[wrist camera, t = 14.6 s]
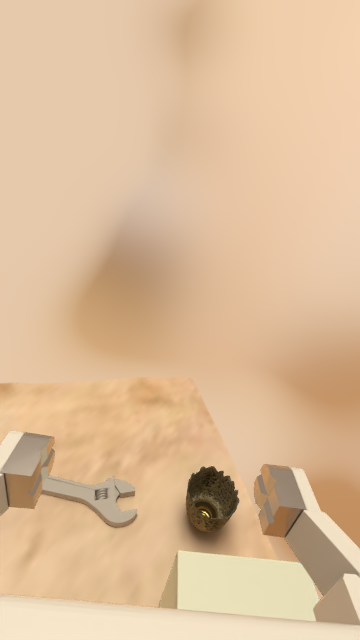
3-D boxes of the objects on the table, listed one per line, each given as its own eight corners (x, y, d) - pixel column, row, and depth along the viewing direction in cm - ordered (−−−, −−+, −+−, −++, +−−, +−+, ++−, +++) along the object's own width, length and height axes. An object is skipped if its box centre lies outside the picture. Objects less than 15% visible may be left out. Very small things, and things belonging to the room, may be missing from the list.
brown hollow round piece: (198, 560, 40) (211, 529, 36) (169, 512, 45) (178, 480, 41) (234, 529, 44) (249, 499, 41) (204, 488, 49) (215, 458, 46)
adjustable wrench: (-24, 481, 44) (-26, 473, 43) (7, 447, 50) (6, 440, 49) (128, 533, 41) (130, 527, 41) (143, 491, 47) (144, 485, 46)
